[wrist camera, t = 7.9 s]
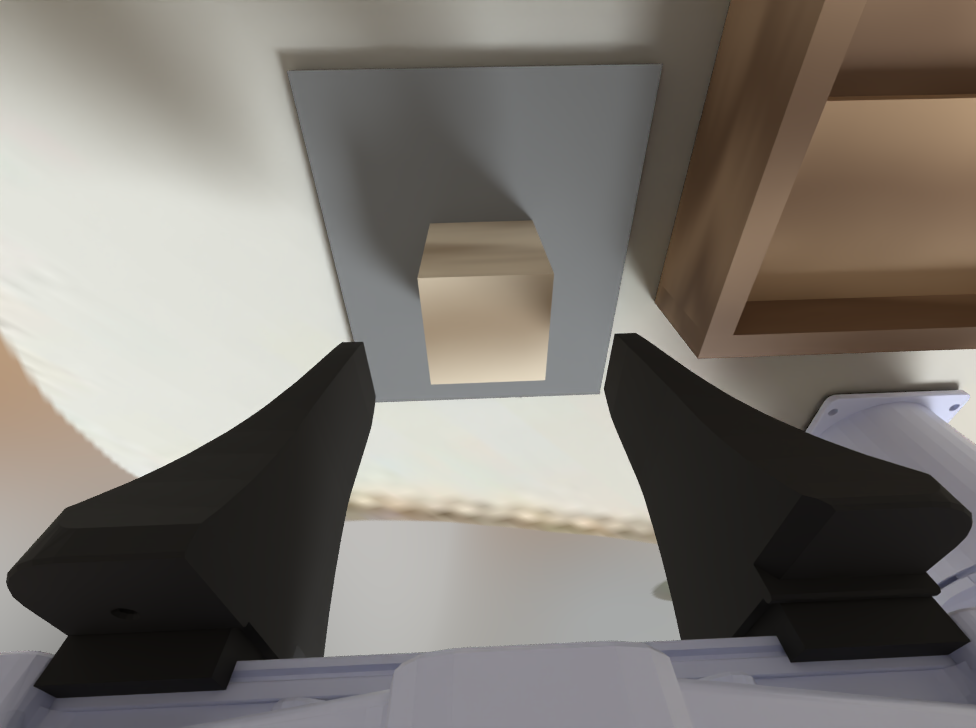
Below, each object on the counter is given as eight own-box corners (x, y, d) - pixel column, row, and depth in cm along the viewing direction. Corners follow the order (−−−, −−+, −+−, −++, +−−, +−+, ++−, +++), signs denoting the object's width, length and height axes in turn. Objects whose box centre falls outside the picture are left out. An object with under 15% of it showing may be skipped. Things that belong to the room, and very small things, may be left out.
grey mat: (596, 386, 22) (599, 394, 22) (371, 394, 22) (369, 402, 21) (655, 63, 14) (662, 64, 13) (293, 70, 14) (286, 70, 13)
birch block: (528, 310, 18) (544, 380, 14) (438, 313, 18) (430, 384, 14) (532, 220, 16) (554, 274, 12) (429, 223, 16) (417, 278, 12)
